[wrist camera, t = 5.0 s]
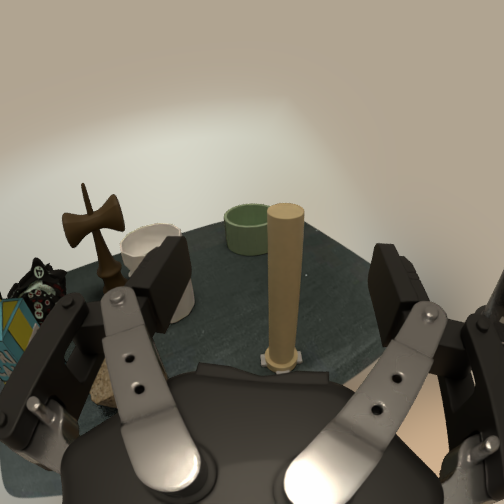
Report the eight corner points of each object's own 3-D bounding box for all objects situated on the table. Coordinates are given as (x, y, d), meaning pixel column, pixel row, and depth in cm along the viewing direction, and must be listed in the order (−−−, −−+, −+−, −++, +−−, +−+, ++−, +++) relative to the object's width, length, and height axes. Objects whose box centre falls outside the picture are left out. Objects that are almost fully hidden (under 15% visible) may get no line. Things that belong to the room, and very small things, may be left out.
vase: (135, 300, 44) (113, 236, 37) (181, 280, 48) (167, 217, 41) (153, 334, 38) (127, 265, 31) (205, 309, 42) (192, 240, 35)
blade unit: (298, 343, 36) (309, 197, 25) (304, 374, 32) (323, 223, 21) (259, 346, 36) (253, 199, 25) (262, 378, 32) (256, 226, 21)
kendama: (146, 290, 46) (114, 177, 35) (95, 310, 42) (51, 199, 31) (138, 273, 50) (110, 169, 39) (91, 290, 46) (54, 188, 35)
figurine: (20, 323, 38) (13, 362, 28) (15, 243, 36) (-1, 262, 25) (69, 323, 45) (74, 361, 34) (67, 244, 42) (68, 264, 32)
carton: (23, 409, 24) (-58, 313, 14) (34, 367, 31) (-29, 270, 21) (62, 413, 25) (-25, 310, 16) (71, 367, 32) (6, 262, 22)
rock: (147, 329, 35) (138, 323, 28) (170, 389, 33) (168, 398, 26) (81, 350, 31) (58, 348, 24) (103, 409, 30) (85, 422, 22)
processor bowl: (282, 232, 60) (283, 205, 57) (270, 259, 52) (270, 230, 49) (237, 226, 63) (235, 201, 60) (218, 251, 55) (215, 224, 52)
